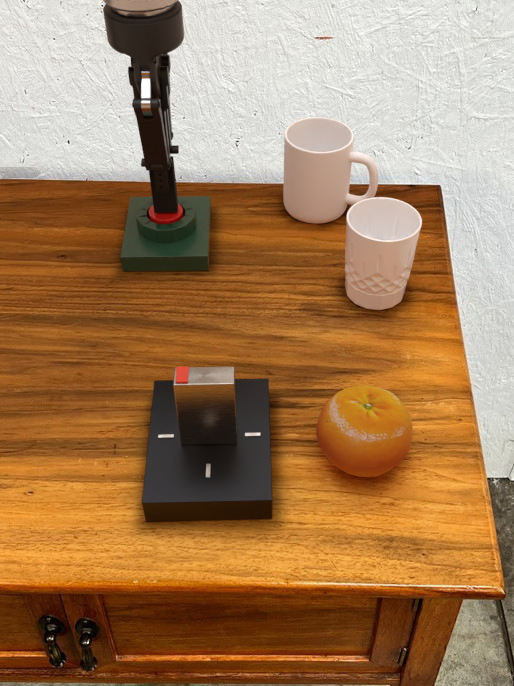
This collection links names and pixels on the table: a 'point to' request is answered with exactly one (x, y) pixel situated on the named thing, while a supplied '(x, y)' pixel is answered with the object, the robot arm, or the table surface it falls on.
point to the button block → (167, 237)
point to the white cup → (380, 251)
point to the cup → (321, 169)
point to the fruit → (364, 430)
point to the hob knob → (206, 404)
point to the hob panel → (209, 463)
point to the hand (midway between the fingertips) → (166, 208)
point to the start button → (165, 216)
